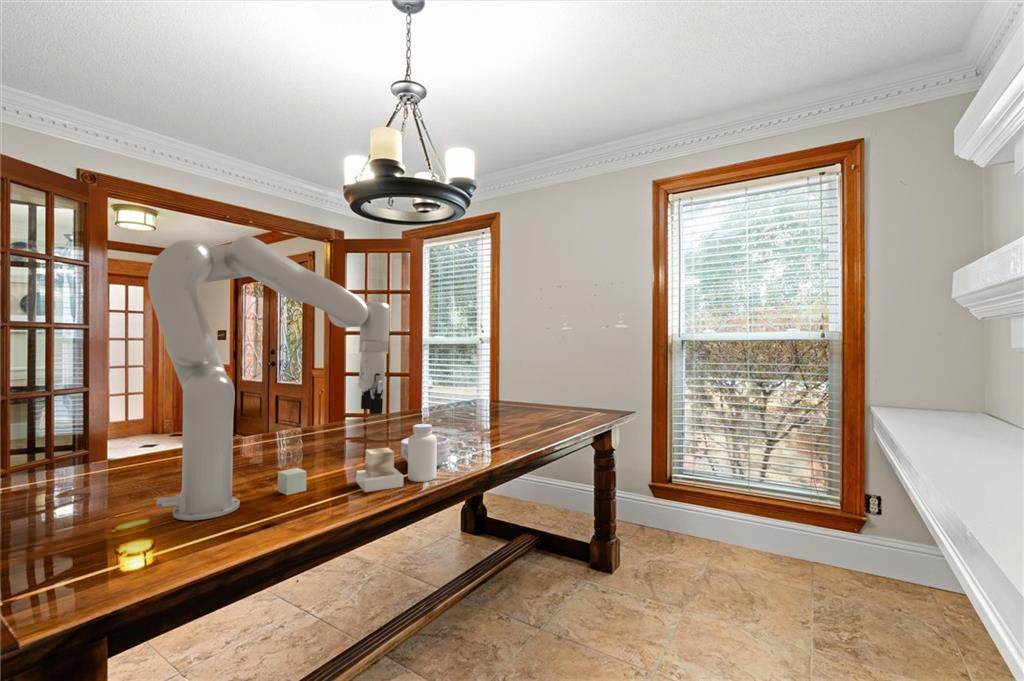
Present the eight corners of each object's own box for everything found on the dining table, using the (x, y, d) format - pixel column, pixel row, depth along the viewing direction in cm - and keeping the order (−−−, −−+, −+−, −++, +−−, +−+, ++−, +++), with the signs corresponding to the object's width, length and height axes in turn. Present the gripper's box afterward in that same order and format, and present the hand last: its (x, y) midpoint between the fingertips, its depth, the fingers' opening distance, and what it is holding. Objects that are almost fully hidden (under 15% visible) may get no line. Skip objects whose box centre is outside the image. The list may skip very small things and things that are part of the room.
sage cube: (286, 495, 118) (287, 475, 118) (277, 491, 121) (277, 471, 121) (306, 490, 122) (306, 471, 122) (296, 486, 125) (297, 467, 125)
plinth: (365, 492, 121) (365, 480, 121) (356, 481, 129) (356, 470, 129) (403, 486, 126) (403, 475, 126) (392, 477, 135) (392, 466, 135)
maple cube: (371, 477, 124) (371, 454, 124) (365, 471, 129) (365, 449, 129) (393, 474, 127) (394, 451, 127) (387, 469, 132) (387, 447, 132)
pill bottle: (401, 479, 132) (402, 426, 132) (420, 473, 139) (420, 421, 139) (424, 484, 128) (425, 428, 128) (442, 476, 135) (442, 424, 136)
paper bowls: (407, 458, 157) (407, 434, 157) (453, 459, 156) (453, 435, 156) (394, 470, 142) (394, 443, 142) (444, 471, 141) (445, 445, 141)
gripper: (352, 346, 133) (350, 407, 133) (367, 347, 118) (364, 416, 118) (379, 347, 137) (377, 407, 137) (396, 348, 122) (394, 415, 122)
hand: (371, 411), depth 127 cm, fingers open, 9 cm apart
